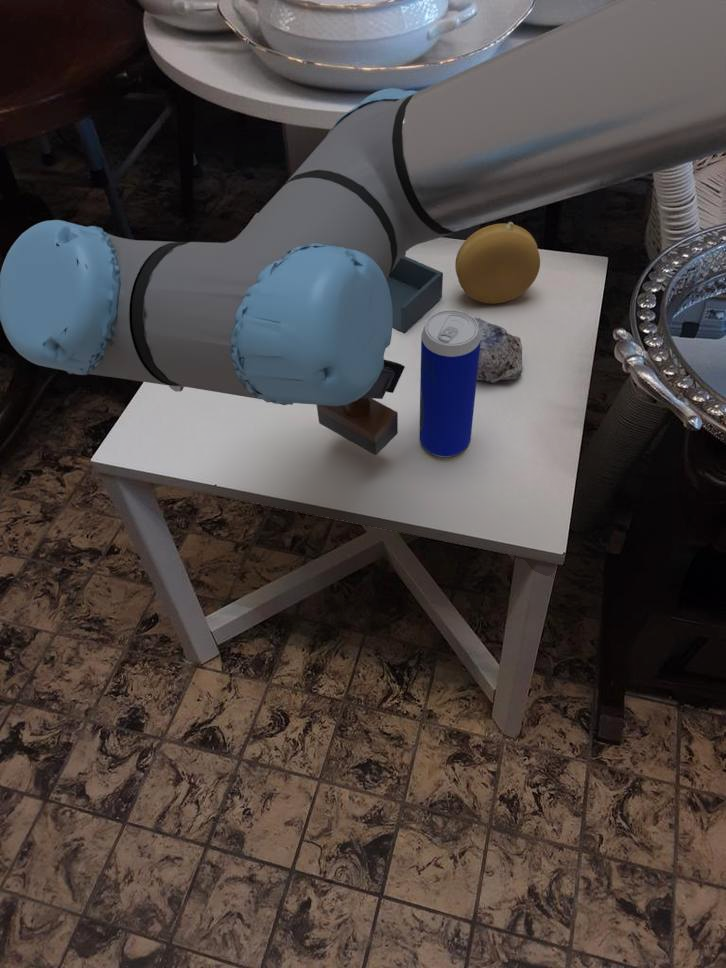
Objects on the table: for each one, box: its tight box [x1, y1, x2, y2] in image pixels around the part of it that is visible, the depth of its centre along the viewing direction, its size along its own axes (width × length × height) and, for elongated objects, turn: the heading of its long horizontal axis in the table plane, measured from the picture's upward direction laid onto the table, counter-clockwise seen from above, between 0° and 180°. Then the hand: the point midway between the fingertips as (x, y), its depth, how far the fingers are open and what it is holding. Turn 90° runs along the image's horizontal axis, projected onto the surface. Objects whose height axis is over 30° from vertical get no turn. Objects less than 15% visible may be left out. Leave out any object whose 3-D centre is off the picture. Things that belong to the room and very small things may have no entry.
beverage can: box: [418, 309, 481, 458], centre depth 72 cm, size 5×5×15 cm
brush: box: [316, 398, 399, 457], centre depth 69 cm, size 7×4×14 cm, turn 52°
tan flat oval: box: [454, 221, 541, 304], centre depth 87 cm, size 9×4×10 cm, turn 94°
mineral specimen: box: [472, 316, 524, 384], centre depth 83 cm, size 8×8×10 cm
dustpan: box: [386, 251, 444, 334], centre depth 92 cm, size 10×16×4 cm, turn 52°
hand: (381, 370), depth 73 cm, fingers closed on brush, 3 cm apart
